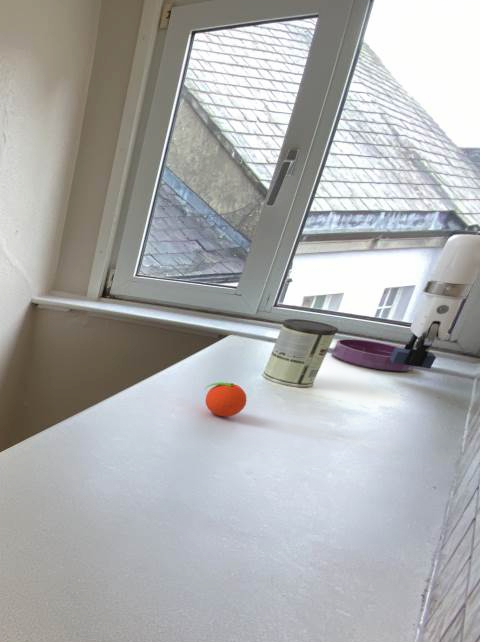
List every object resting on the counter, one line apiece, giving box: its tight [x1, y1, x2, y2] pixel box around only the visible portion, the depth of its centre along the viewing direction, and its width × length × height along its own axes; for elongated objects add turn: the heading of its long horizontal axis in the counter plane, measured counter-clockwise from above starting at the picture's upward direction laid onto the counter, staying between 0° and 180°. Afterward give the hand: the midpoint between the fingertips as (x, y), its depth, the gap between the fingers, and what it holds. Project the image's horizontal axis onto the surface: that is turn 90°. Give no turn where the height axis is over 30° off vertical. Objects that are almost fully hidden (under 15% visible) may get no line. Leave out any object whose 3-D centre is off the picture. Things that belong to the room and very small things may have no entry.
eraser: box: [390, 347, 437, 369], centre depth 138 cm, size 7×4×3 cm, turn 55°
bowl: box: [330, 338, 414, 372], centre depth 152 cm, size 17×17×4 cm
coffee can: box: [262, 318, 339, 388], centre depth 133 cm, size 10×10×14 cm
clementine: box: [205, 382, 248, 418], centre depth 113 cm, size 8×7×7 cm
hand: (410, 361), depth 138 cm, fingers closed on eraser, 4 cm apart
